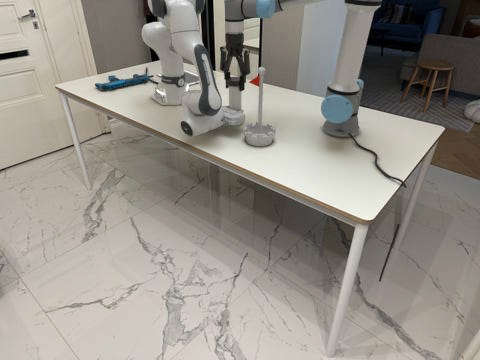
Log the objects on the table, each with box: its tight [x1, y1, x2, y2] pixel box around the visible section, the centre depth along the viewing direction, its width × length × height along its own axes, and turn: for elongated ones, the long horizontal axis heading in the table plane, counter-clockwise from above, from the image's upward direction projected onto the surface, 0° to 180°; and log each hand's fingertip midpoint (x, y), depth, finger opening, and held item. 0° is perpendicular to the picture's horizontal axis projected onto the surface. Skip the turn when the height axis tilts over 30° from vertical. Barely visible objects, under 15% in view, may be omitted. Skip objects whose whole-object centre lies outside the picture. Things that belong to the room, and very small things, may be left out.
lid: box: [227, 76, 240, 87], centre depth 146 cm, size 7×7×2 cm
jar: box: [228, 86, 242, 127], centre depth 152 cm, size 6×6×20 cm
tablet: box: [156, 69, 200, 87], centre depth 217 cm, size 32×20×1 cm, turn 41°
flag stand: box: [243, 66, 276, 147], centre depth 134 cm, size 13×13×30 cm
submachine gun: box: [94, 73, 155, 91], centre depth 208 cm, size 34×4×25 cm
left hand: (236, 108), depth 154 cm, fingers closed on jar, 5 cm apart
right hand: (235, 88), depth 148 cm, fingers closed on lid, 7 cm apart
